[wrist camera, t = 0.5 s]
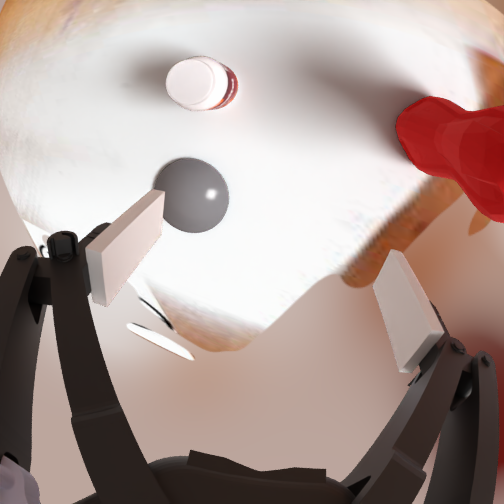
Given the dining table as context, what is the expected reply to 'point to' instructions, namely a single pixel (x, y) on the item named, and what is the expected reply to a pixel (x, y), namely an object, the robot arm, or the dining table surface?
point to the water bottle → (458, 148)
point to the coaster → (193, 195)
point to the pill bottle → (201, 84)
